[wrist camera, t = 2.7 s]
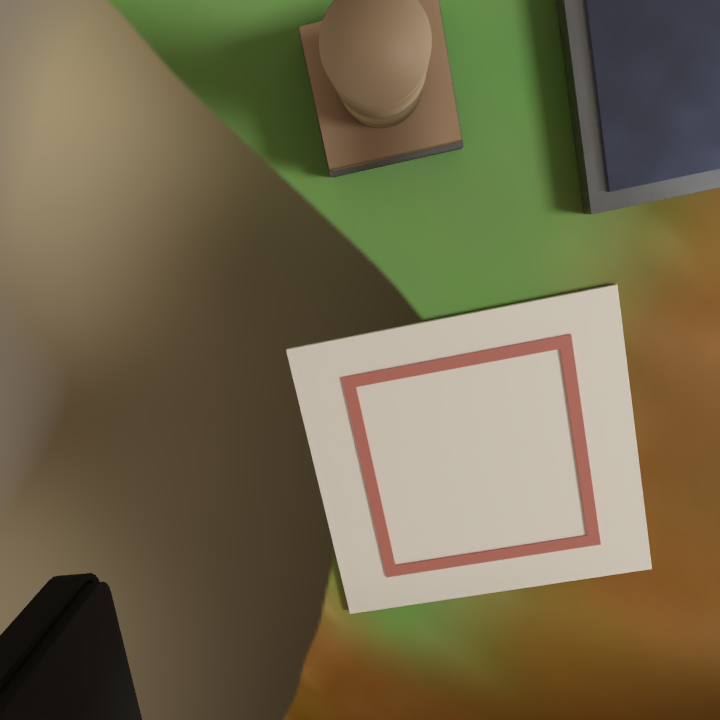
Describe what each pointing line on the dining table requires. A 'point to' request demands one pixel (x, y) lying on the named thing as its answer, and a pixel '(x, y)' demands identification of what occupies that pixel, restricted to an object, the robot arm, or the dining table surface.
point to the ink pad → (643, 98)
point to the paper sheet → (477, 451)
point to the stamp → (381, 83)
